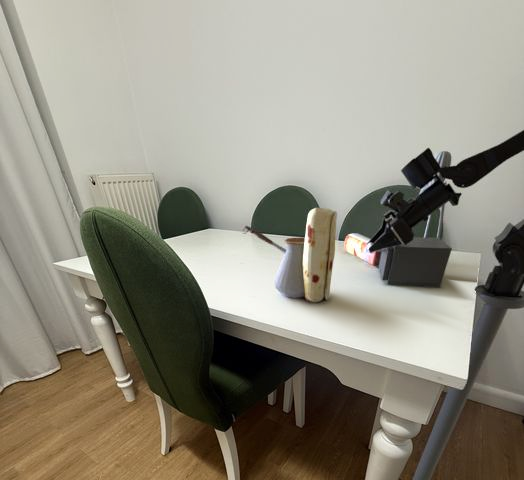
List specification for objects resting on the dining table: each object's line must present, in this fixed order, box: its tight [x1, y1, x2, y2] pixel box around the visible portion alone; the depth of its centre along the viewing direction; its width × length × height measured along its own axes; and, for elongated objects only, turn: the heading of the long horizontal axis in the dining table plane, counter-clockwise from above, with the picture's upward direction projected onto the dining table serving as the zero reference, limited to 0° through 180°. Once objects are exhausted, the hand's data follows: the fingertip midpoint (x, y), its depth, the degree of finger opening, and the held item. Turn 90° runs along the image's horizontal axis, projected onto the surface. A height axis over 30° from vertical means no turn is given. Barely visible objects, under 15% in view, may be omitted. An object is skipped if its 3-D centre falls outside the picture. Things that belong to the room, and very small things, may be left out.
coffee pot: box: [242, 225, 305, 299], centre depth 73 cm, size 21×12×15 cm, turn 56°
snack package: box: [343, 232, 382, 267], centre depth 98 cm, size 21×7×7 cm, turn 12°
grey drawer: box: [368, 242, 394, 281], centre depth 80 cm, size 16×12×8 cm
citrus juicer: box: [418, 150, 452, 239], centre depth 86 cm, size 11×10×30 cm
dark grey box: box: [385, 236, 453, 289], centre depth 79 cm, size 13×13×10 cm
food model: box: [303, 207, 338, 303], centre depth 65 cm, size 10×7×20 cm
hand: (368, 247), depth 80 cm, fingers closed on grey drawer, 6 cm apart
